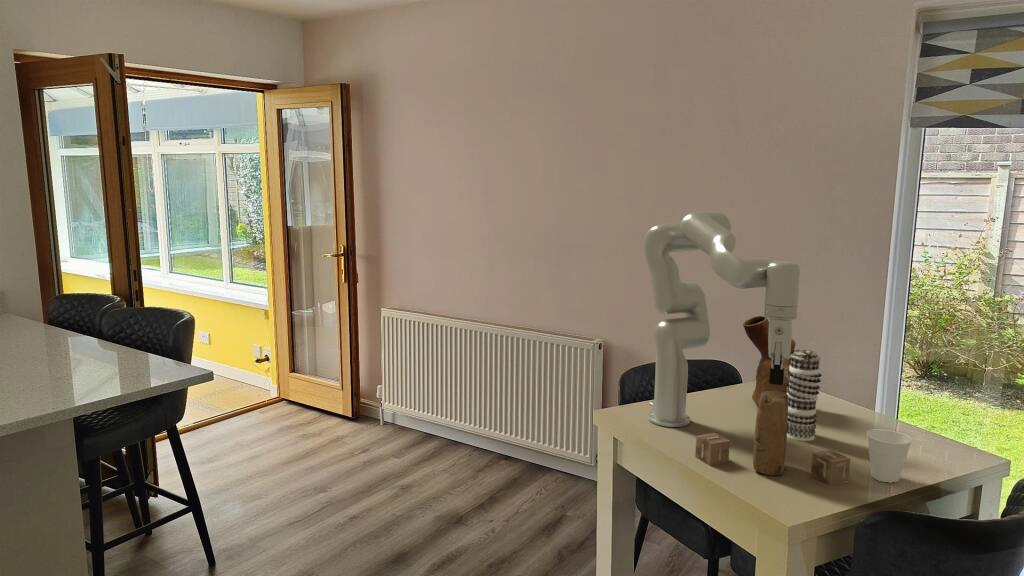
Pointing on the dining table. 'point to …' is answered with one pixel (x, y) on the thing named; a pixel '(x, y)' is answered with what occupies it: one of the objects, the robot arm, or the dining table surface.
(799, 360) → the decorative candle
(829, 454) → the walnut cube
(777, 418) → the block
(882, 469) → the cup
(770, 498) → the dining table surface
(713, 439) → the walnut cube
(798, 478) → the dining table surface
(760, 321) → the ceramic vessel
